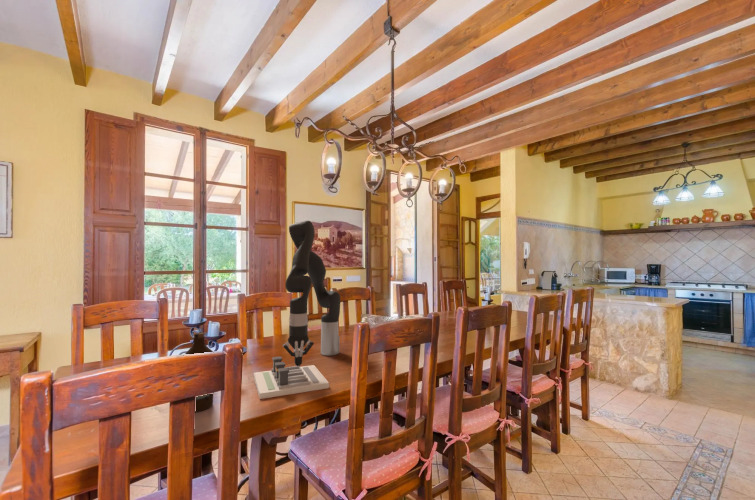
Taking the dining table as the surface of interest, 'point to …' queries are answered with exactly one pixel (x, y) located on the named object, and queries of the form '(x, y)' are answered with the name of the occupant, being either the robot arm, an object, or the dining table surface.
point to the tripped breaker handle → (278, 365)
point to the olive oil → (200, 347)
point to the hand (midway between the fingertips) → (298, 365)
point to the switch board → (288, 380)
